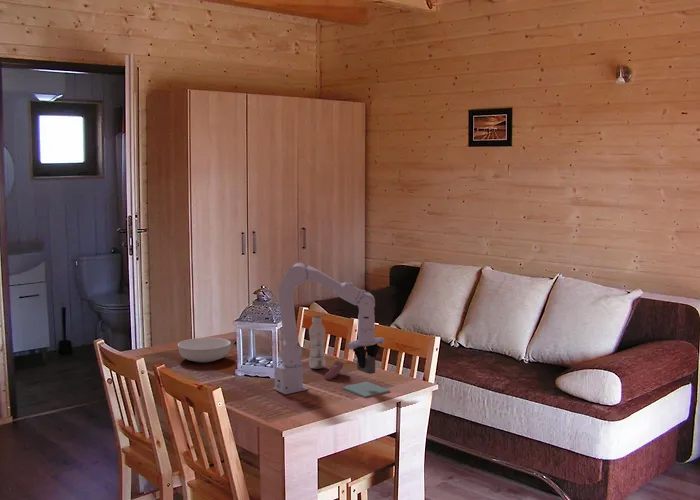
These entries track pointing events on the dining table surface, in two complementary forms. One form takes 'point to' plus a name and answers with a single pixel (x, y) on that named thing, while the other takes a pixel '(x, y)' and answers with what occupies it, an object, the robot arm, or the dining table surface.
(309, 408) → the dining table surface
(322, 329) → the plastic bottle
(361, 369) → the connector plug
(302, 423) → the dining table surface
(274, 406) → the dining table surface
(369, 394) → the rubber mat
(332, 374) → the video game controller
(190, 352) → the serving bowl
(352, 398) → the dining table surface
